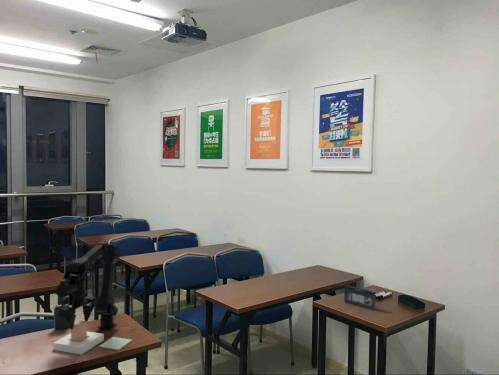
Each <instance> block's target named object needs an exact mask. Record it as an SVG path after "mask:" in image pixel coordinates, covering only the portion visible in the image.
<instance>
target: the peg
mask: <svg viewBox="0 0 499 375" xmlns="http://www.w3.org/2000/svg"><path fill="white" fill-rule="evenodd" d="M87 322H88V321H85V320H81V319H77V320H75V323H74V327H73V329H72V330H71V329H70V333H71V341H75V342H81V341H83V340H85V339H86V338H87V331H88V328H87Z"/></svg>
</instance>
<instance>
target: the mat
mask: <svg viewBox="0 0 499 375" xmlns="http://www.w3.org/2000/svg"><path fill="white" fill-rule="evenodd" d="M132 341H133V339H130V338H124V337H123V338H122V337H118V336H117V337H116V336H112V337H111V338H109V339H108V340H106V341H103V343H102V344H100V345H99V346H98V348H103V349H109V350H116V351H120V350H121V349H122V348H125V347H126V345H128V344H130V343H131V342H132Z"/></svg>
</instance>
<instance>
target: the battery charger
mask: <svg viewBox="0 0 499 375" xmlns="http://www.w3.org/2000/svg"><path fill="white" fill-rule="evenodd" d="M65 306H66V307H70V306H68V304H67V305H64V306H61V305H58V304H56V305H55V306H54V307H53V321H54V324H53V325H54V326H53V328H54V330H55V331H57V330H62V329H63V330H64V329H68V328H69V325H68V323H67V321H66V319H65V318H64V317H61V316H58V310H59V309H61V308H63V307H65ZM69 329H70V328H69Z"/></svg>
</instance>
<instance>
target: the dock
mask: <svg viewBox="0 0 499 375" xmlns="http://www.w3.org/2000/svg"><path fill="white" fill-rule="evenodd" d="M104 339H105V334H104V333H99V332H95V331H94V332H93V331H88V330H87V338H86V339H85V340H83V341H81V342H75V341H71V332H70V333H69V334H66V335H65V336H63V337H61V338H60V339H58V340H56V341H54V342H52V345H53V346H52V350H53V351H59V352H65V353H70V354H74V355H75V354H77V355H83V354H85V353H86V352H88V351H89V350H91V349H93V348H94V347H96V346H97V345H99V344H100V343H102V342H105V340H104Z"/></svg>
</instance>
